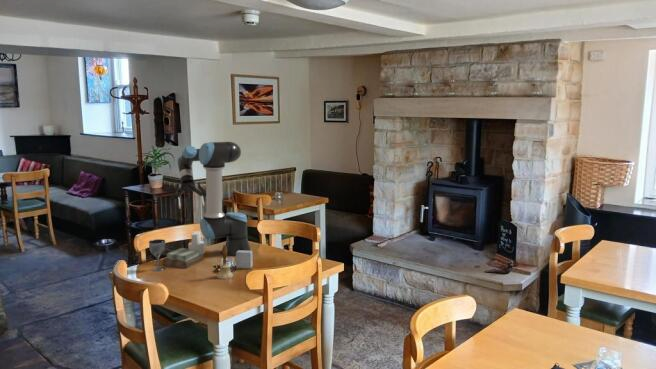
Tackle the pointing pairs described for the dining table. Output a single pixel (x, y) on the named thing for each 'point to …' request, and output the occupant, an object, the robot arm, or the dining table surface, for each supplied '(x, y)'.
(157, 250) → the wine glass
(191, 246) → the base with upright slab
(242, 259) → the medicine box
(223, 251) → the hand bell
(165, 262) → the tiered stand
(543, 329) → the dining table surface
